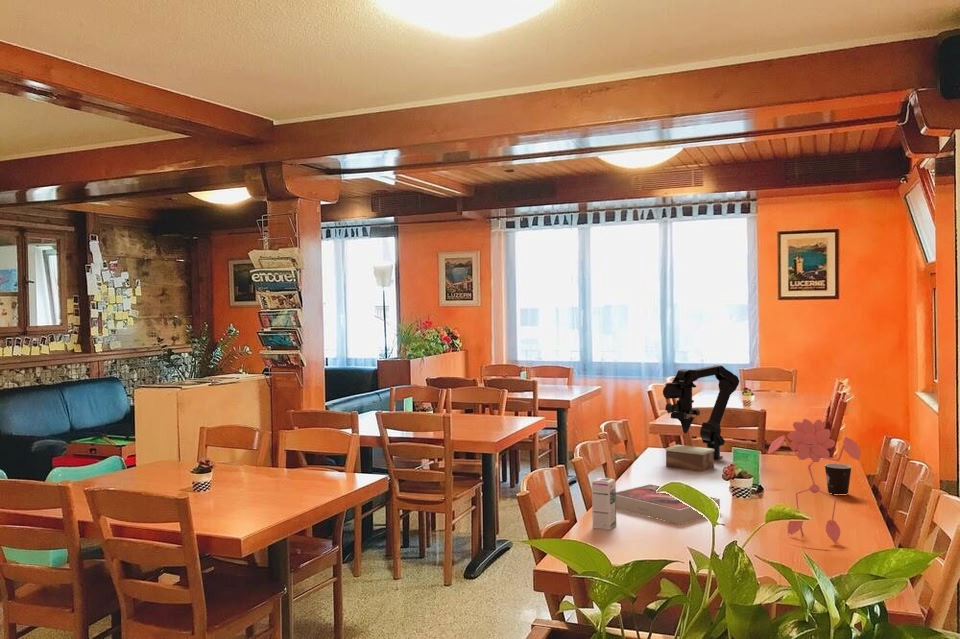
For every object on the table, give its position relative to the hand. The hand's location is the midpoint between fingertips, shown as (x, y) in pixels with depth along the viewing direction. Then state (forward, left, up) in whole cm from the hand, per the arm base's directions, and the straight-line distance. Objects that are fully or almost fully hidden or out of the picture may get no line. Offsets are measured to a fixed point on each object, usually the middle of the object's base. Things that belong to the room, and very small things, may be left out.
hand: (685, 433), depth 332 cm
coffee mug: (+25, +69, -12) cm, 74 cm away
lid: (+11, +7, -6) cm, 14 cm away
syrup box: (+113, +25, -12) cm, 116 cm away
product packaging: (+83, +30, -13) cm, 89 cm away
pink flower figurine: (+89, +78, -12) cm, 119 cm away
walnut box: (+11, +7, -12) cm, 18 cm away
